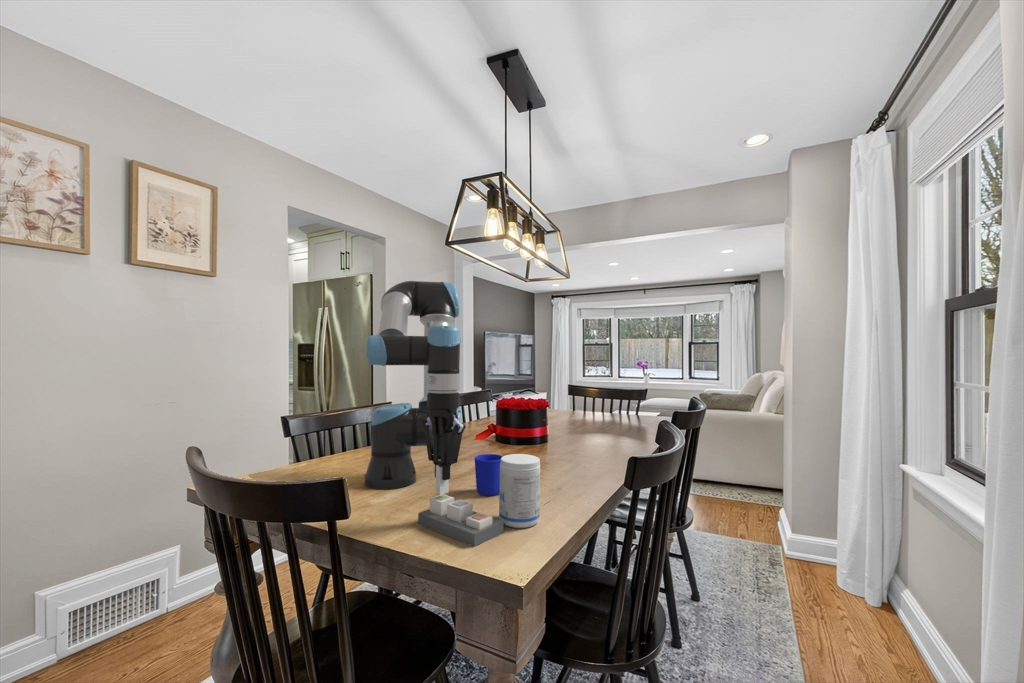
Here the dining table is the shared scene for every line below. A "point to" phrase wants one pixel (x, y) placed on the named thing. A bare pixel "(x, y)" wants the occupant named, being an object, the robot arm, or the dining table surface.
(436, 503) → the key
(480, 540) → the keypad base
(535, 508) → the supplement tub
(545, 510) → the dining table surface
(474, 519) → the key
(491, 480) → the mug
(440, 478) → the robot arm
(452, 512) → the key
